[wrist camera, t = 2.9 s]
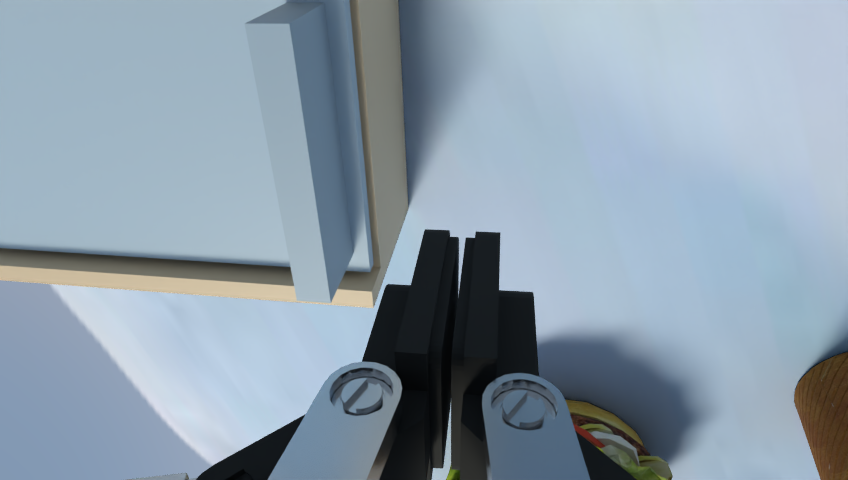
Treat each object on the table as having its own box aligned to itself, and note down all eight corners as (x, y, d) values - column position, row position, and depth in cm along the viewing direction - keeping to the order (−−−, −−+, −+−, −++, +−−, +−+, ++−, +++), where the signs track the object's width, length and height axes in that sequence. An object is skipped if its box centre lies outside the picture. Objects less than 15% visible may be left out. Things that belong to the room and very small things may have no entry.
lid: (-154, -24, 19) (-281, -7, 16) (346, -30, 17) (307, -11, 14) (-15, 239, 25) (-89, 288, 22) (373, 263, 22) (350, 322, 19)
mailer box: (-16, -76, 24) (-224, -61, 17) (394, -87, 21) (336, -74, 15) (89, 193, 31) (-31, 277, 24) (408, 208, 28) (373, 308, 22)
